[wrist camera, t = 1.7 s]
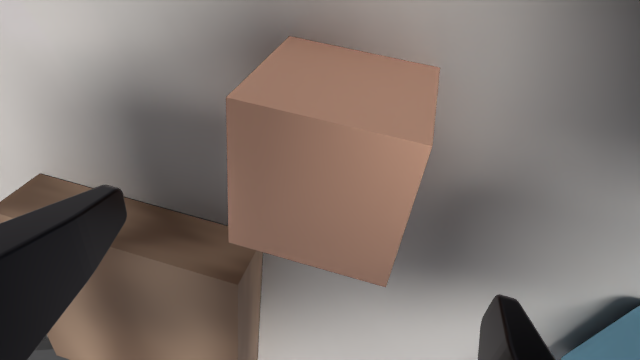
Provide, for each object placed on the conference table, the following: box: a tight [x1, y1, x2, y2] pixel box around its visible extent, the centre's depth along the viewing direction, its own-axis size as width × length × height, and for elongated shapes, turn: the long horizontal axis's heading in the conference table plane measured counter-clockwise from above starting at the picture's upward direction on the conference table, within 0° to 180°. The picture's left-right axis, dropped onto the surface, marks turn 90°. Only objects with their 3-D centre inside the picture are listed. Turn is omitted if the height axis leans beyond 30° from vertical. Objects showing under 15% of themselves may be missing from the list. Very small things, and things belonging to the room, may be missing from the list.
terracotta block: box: [226, 36, 440, 287], centre depth 13 cm, size 5×5×5 cm
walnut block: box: [0, 174, 263, 360], centre depth 23 cm, size 12×12×3 cm
